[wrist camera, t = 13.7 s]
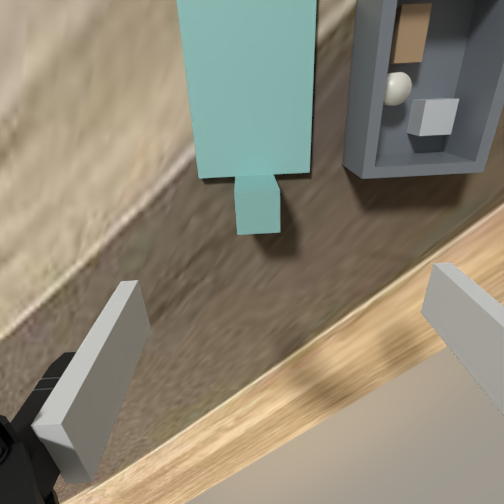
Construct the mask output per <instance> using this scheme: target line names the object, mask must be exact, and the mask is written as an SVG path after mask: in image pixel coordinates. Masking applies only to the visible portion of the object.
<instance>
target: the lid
mask: <svg viewBox="0 0 504 504" xmlns="http://www.w3.org/2000/svg"><path fill="white" fill-rule="evenodd" d="M316 1H317V0H177V6H178V14H179V22H180V30H181V38H182V46H183V55H184V63H185V71H186V79H187V87H188V95H189V103H190V111H191V119H192V127H193V135H194V143H195V151H196V160H197V168H198V176H199V178H216V177H235V190H234V195H235V209H236V223H237V235H243V234H261V233H279V232H280V189H279V187H278V184H277V182H276V179H275V177H274V175H273V174H291V173H309V172H310V152H311V126H312V101H313V76H314V51H315V26H316Z"/></svg>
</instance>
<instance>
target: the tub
mask: <svg viewBox="0 0 504 504" xmlns="http://www.w3.org/2000/svg"><path fill="white" fill-rule="evenodd" d="M503 105H504V0H357V5H356V16H355V28H354V39H353V50H352V61H351V73H350V84H349V95H348V107H347V118H346V129H345V140H344V152H343V163H342V165H343V166H345V167H346V168H347V169H349V170H350V171H352V172H353V173H354V174H356V175H357V176H359V177H360V178H361V179H370V178H388V177H407V176H425V175H444V174H462V173H481V172H484V168H485V165H486V162H487V158H488V155H489V152H490V148H491V145H492V142H493V138H494V135H495V132H496V128H497V125H498V122H499V118H500V115H501V111H502V108H503Z"/></svg>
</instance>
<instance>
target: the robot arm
mask: <svg viewBox="0 0 504 504" xmlns="http://www.w3.org/2000/svg"><path fill="white" fill-rule="evenodd" d="M421 313H422V315H423V316H424V317H425V318H426V320H427V321H428V322H429V323H430V325H431V326H432V327H433V328H434V330H435V331H436V332H437V333H438V335H439V336H440V337H441V338H442V340H443V341H444V342H445V343H446V345H447V346H448V347H449V348H450V349H451V351H452V352H453V353H454V355H456V357H457V358H458V360H459V361H460V362H461V363H462V365H463V366H464V367H465V368H466V370H467V371H468V372H469V373H470V375H471V376H472V377H473V378H474V380H475V381H476V382H477V383H478V385H480V387H481V388H482V389H483V391H484V392H485V393H486V395H487V396H488V397H489V398H490V400H491V401H492V402H493V403H494V404H495V406H496V407H497V408H498V409H499V411H500V412H501V413H502V414H503V416H504V306H503V305H501V304H500V303H499V302H498V301H497V300H495V299H494V298H493V297H492V296H491V295H489V294H488V293H487V292H486V291H485V290H483V289H482V288H481V287H480V286H479V285H477V284H476V283H475V282H474V281H473V280H471V279H470V278H469V277H468V276H467V275H465V274H464V273H463V272H462V271H460V270H459V269H458V268H457V267H456V266H454V265H453V264H452V263H451V262H448V263H433V267H432V271H431V275H430V279H429V283H428V286H427V290H426V294H425V298H424V302H423V306H422V310H421ZM150 329H151V328H150V324H149V320H148V316H147V312H146V308H145V305H144V301H143V297H142V293H141V289H140V286H139V282H138V280H137V281H121V282H120V284H119V285H118V287H117V288H116V290H115V292H114V293H113V295H112V296H111V298H110V300H109V301H108V303H107V304H106V306H105V308H104V309H103V311H102V312H101V314H100V316H99V317H98V319H97V320H96V322H95V324H94V325H93V327H92V328H91V330H90V332H89V333H88V335H87V336H86V338H85V340H84V341H83V343H82V344H81V346H80V348H79V349H78V351H77V352H68V353H64V354H62V355H61V356H60V357H59V358H58V359H57V360H55V361H54V362H53V363H52V364H51V365H50V367H49V368H48V369H47V371H46V372H45V374H44V375H43V377H42V380H40V381H39V382H38V384H37V385H36V387H35V388H34V391H32V393H31V394H30V395H29V397H28V398H27V400H26V401H25V403H24V404H23V406H22V407H21V409H20V410H19V411H18V413H17V414H16V416H15V417H14V419H13V420H12V422H11V423H10V422H9V421H8V419H7V418H6V417H5V416H2V415H0V504H59V501H58V498H57V494H56V492H55V490H54V489H53V487H54V484H55V482H56V480H57V478H58V476H59V474H61V476H62V477H63V479H64V481H65V482H66V484H70V483H87V482H93V479H94V477H95V474H96V471H97V469H98V466H99V464H100V461H101V458H102V456H103V453H104V450H105V448H106V445H107V442H108V440H109V437H110V434H111V432H112V429H113V427H114V424H115V421H116V419H117V416H118V413H119V411H120V408H121V405H122V403H123V400H124V397H125V395H126V392H127V390H128V387H129V384H130V382H131V379H132V376H133V374H134V371H135V368H136V366H137V363H138V360H139V358H140V355H141V353H142V350H143V347H144V345H145V342H146V339H147V337H148V334H149V331H150Z"/></svg>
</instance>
